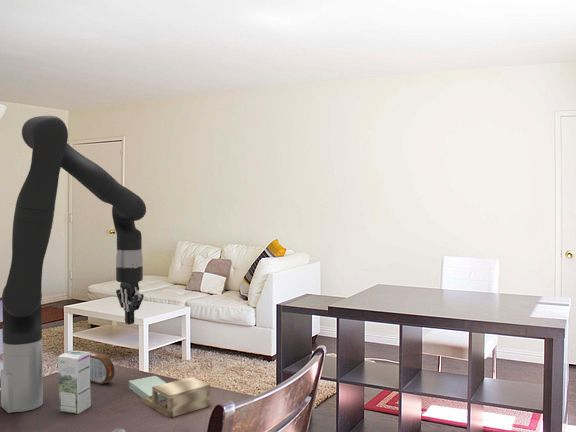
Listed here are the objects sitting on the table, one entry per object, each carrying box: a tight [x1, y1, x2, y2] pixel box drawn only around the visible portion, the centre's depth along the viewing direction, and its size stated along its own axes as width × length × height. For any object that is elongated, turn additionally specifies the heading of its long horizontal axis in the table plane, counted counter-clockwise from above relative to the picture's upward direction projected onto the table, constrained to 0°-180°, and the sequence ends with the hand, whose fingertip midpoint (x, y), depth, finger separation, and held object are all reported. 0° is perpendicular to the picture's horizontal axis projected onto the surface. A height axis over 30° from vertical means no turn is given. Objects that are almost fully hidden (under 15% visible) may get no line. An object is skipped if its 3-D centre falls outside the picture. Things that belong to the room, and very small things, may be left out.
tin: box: [82, 349, 115, 385], centre depth 170 cm, size 15×3×8 cm, turn 58°
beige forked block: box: [142, 376, 211, 419], centre depth 151 cm, size 12×13×6 cm
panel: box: [128, 375, 167, 403], centre depth 160 cm, size 8×15×2 cm, turn 36°
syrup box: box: [57, 350, 92, 415], centre depth 147 cm, size 6×6×14 cm
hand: (129, 323), depth 169 cm, fingers closed
